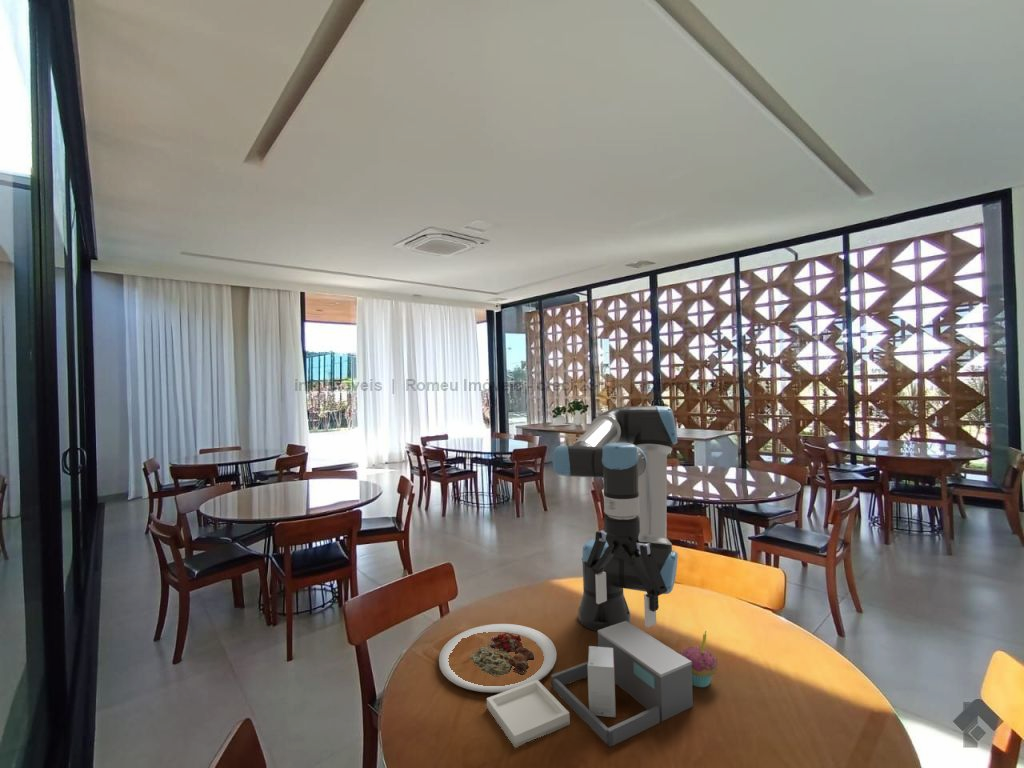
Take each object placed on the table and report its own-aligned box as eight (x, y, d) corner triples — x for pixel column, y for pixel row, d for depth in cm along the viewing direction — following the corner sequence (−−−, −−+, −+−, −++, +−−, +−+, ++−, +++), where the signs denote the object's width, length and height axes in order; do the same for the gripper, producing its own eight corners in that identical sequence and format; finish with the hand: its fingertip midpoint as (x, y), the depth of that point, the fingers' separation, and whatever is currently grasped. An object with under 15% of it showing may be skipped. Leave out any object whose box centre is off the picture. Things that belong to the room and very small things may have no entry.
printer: (551, 688, 109) (550, 646, 109) (627, 658, 119) (625, 620, 119) (609, 747, 90) (608, 696, 90) (693, 706, 101) (691, 661, 101)
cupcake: (716, 673, 112) (715, 623, 112) (719, 696, 104) (718, 641, 104) (678, 667, 115) (676, 618, 115) (678, 689, 107) (676, 636, 107)
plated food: (438, 707, 104) (438, 692, 104) (439, 636, 133) (438, 624, 133) (570, 689, 108) (570, 675, 108) (542, 625, 138) (542, 613, 138)
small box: (615, 718, 98) (614, 668, 98) (588, 715, 99) (587, 665, 99) (615, 694, 106) (613, 647, 106) (590, 691, 107) (588, 645, 107)
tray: (486, 709, 102) (486, 698, 102) (537, 689, 108) (537, 679, 108) (514, 748, 91) (514, 736, 91) (569, 724, 97) (569, 712, 97)
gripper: (569, 507, 110) (572, 598, 110) (659, 531, 90) (662, 642, 90) (592, 501, 115) (594, 589, 115) (682, 523, 95) (685, 629, 95)
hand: (624, 612), depth 102 cm, fingers open, 13 cm apart
